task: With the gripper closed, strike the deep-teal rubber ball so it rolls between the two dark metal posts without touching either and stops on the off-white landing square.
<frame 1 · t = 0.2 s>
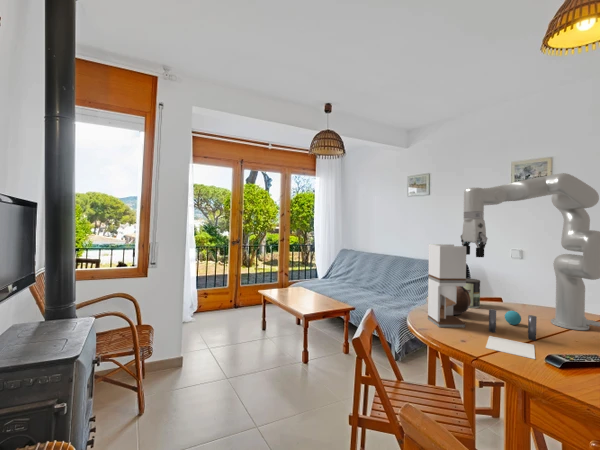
hand: (472, 255, 128), 31 cm above the table, tool pointing down, fingers open, 9 cm apart
coffee can: (468, 305, 161), on the table
ball: (512, 317, 131), on the table
white tower on base: (445, 323, 132), on the table
wooden sphere: (453, 314, 146), on the table
left post: (492, 331, 123), on the table
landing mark: (510, 346, 108), on the table
right post: (532, 339, 115), on the table
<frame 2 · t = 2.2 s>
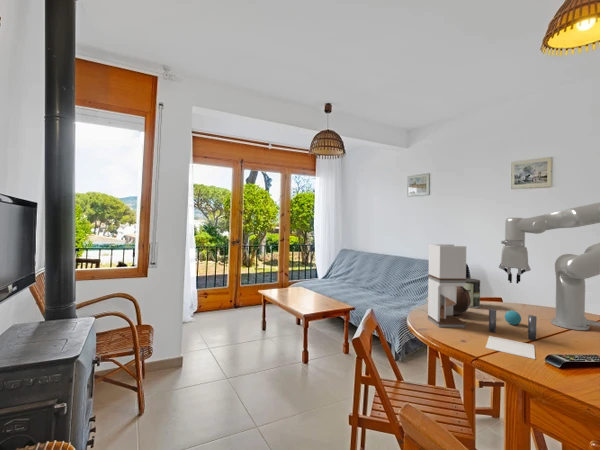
hand: (514, 282, 139), 17 cm above the table, tool pointing down, fingers closed
nothing on the table moved.
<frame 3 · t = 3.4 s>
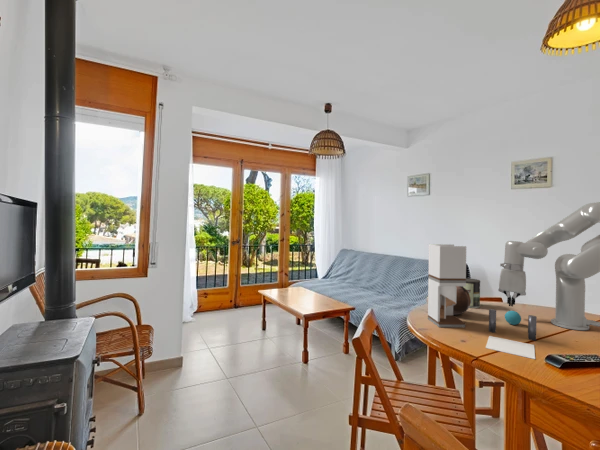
hand: (510, 305, 140), 6 cm above the table, tool pointing down, fingers closed
nothing on the table moved.
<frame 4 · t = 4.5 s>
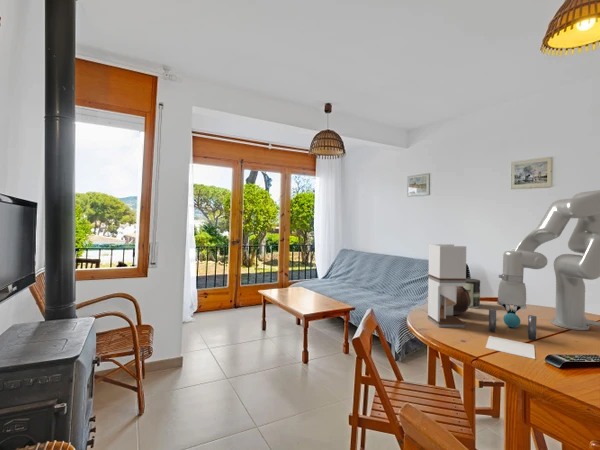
hand: (511, 319, 132), 2 cm above the table, tool pointing down, fingers closed
ball: (511, 320, 128), on the table
everything else where it was.
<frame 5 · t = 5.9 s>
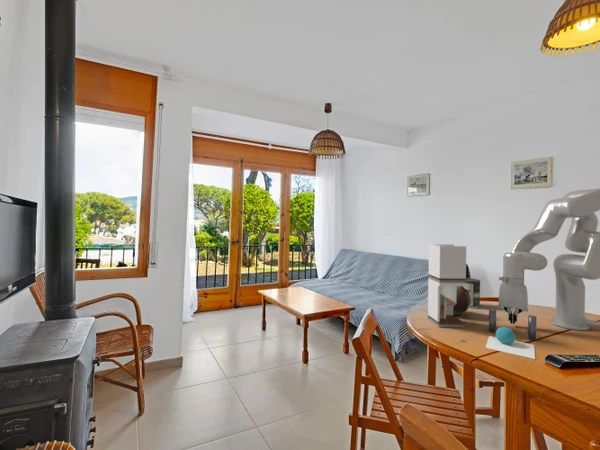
hand: (512, 322, 129), 2 cm above the table, tool pointing down, fingers closed
ball: (505, 335, 111), on the table
everything else where it was.
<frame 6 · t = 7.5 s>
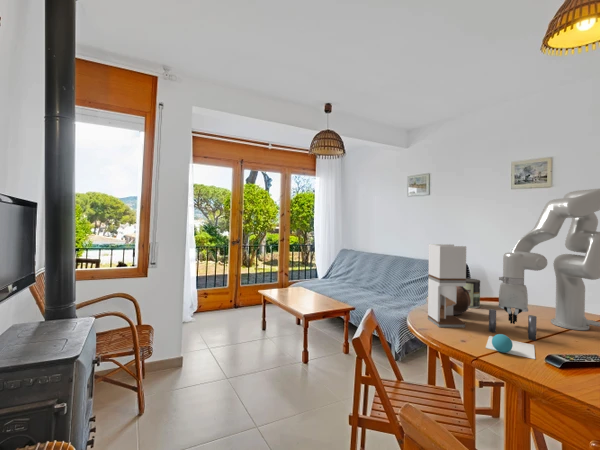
hand: (512, 322, 129), 2 cm above the table, tool pointing down, fingers closed
ball: (502, 343, 103), on the table
everything else where it was.
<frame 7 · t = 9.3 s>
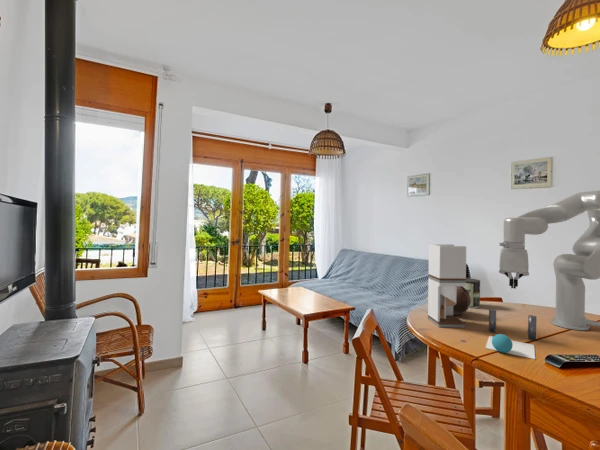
hand: (513, 287, 129), 17 cm above the table, tool pointing down, fingers closed
nothing on the table moved.
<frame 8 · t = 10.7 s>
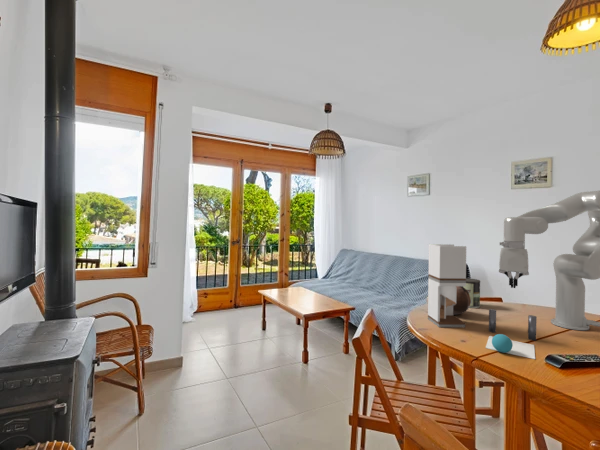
hand: (513, 287, 129), 17 cm above the table, tool pointing down, fingers closed
nothing on the table moved.
at the end: ball 7.2 cm from the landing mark (horizontally); ball never touched left post; ball never touched right post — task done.
